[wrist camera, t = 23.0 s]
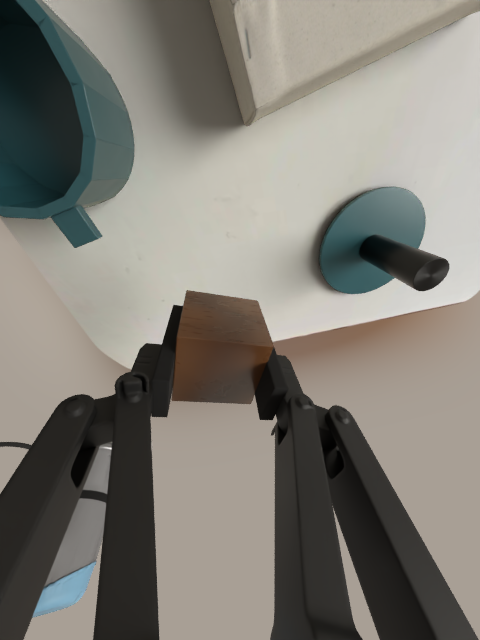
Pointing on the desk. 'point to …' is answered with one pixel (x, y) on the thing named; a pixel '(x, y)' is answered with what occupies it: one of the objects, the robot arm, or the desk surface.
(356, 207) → the lid
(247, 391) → the block
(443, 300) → the desk surface
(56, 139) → the pot
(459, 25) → the desk surface
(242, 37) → the box
